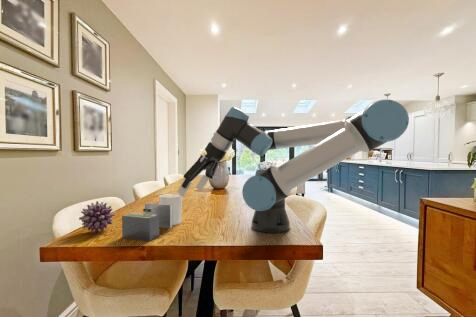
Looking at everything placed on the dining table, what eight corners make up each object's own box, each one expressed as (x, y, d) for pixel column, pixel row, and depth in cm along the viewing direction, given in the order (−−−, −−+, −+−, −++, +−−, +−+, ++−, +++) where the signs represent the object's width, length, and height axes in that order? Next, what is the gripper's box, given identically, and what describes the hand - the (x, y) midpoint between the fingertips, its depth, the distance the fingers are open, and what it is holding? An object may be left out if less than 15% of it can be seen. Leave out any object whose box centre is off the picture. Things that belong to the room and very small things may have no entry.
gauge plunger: (172, 227, 94) (171, 204, 94) (160, 233, 88) (160, 208, 87) (147, 224, 98) (146, 202, 98) (134, 230, 92) (133, 206, 91)
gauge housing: (159, 236, 87) (158, 214, 87) (149, 241, 82) (149, 217, 82) (132, 233, 91) (132, 212, 91) (122, 237, 86) (121, 215, 86)
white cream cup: (176, 227, 98) (176, 197, 98) (154, 225, 100) (154, 197, 100) (186, 220, 108) (186, 193, 108) (166, 219, 110) (166, 193, 110)
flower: (116, 233, 91) (115, 202, 91) (78, 239, 85) (77, 205, 84) (114, 225, 101) (113, 197, 101) (80, 230, 95) (79, 200, 94)
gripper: (223, 142, 102) (198, 182, 106) (194, 138, 78) (163, 190, 83) (237, 152, 100) (211, 192, 104) (211, 151, 76) (178, 203, 81)
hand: (189, 191), depth 93 cm, fingers open, 13 cm apart
